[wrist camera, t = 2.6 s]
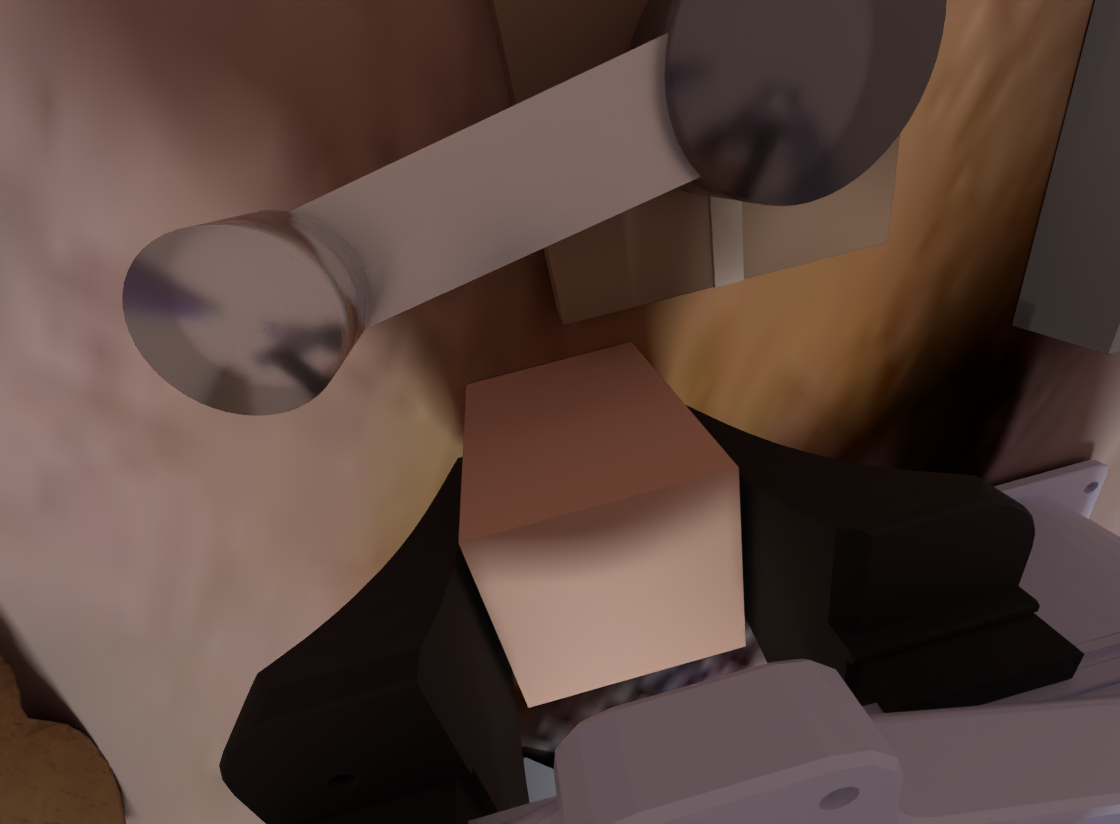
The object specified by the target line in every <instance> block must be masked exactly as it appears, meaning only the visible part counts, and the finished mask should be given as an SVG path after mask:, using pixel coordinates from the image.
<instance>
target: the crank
mask: <svg viewBox="0 0 1120 824" xmlns="http://www.w3.org/2000/svg"><path fill="white" fill-rule="evenodd" d="M945 15H946V0H649V1H648V3H647V5H646V6H645V8H644V10H643V12H642V14H641V16H640V19H639V21H638V23H637V25H636V28H635V31H634V34H633V37H632V40H631V43H630V47H629V51H628V52H626V53H624V54H622V55H620V56H618V57H616V58H614V59H611V60H609V61H607V62H605V63H603V64H601V65H599V66H597V67H595V68H592V69H590V70H588V71H586V72H584V73H582V74H580V75H578V76H575V77H573V78H571V79H569V80H567V81H565V82H563V83H561V84H558V85H556V86H554V87H552V88H550V89H548V90H546V91H544V92H542V93H539V94H537V95H535V96H533V97H531V98H529V99H527V100H525V101H522V102H520V103H518V104H516V105H514V106H512V107H510V108H508V109H505V110H503V111H501V112H499V113H497V114H495V115H493V116H491V117H488V118H486V119H484V120H482V121H480V122H478V123H476V124H474V125H472V126H469V127H467V128H465V129H463V130H461V131H459V132H457V133H455V134H452V135H450V136H448V137H446V138H444V139H442V140H440V141H438V142H435V143H433V144H431V145H429V146H427V147H425V148H423V149H421V150H419V151H416V152H414V153H412V154H410V155H408V156H406V157H404V158H402V159H399V160H397V161H395V162H393V163H391V164H389V165H387V166H385V167H382V168H380V169H378V170H376V171H374V172H372V173H370V174H368V175H366V176H363V177H361V178H359V179H357V180H355V181H353V182H351V183H349V184H346V185H344V186H342V187H340V188H338V189H336V190H334V191H332V192H329V193H327V194H325V195H323V196H321V197H319V198H317V199H315V200H312V201H310V202H308V203H306V204H304V205H302V206H300V207H298V208H296V209H293V210H291V211H289V212H288V211H280V210H266V211H258V212H253V213H249V214H244V215H240V216H236V217H231V218H227V219H222V220H218V221H214V222H209V223H205V224H200V225H196V226H192V227H187V228H183V229H178V230H175V231H172V232H170V233H167V234H164V235H162V236H161V237H159V238H157V239H156V240H154V241H152V242H151V243H150V244H148V245H147V246H146V247H145V248H144V249H143V250H142V251H141V252H140V253H139V254H138V255H137V257H136V258H135V259H134V261H133V263H132V264H131V266H130V268H129V270H128V272H127V275H126V279H125V282H124V288H123V310H124V316H125V321H126V324H127V327H128V330H129V333H130V335H131V337H132V339H133V341H134V343H135V345H136V347H137V348H138V350H139V351H140V353H141V354H142V356H143V357H144V359H145V360H146V361H147V362H148V363H149V365H150V366H151V367H152V368H153V369H154V370H155V371H156V372H157V373H158V374H159V375H160V376H161V377H162V378H163V379H164V380H165V381H167V382H168V383H169V384H170V385H172V386H173V387H174V388H176V389H177V390H179V391H180V392H182V393H183V394H185V395H186V396H188V397H190V398H192V399H194V400H196V401H198V402H200V403H202V404H205V405H207V406H210V407H212V408H216V409H219V410H222V411H225V412H230V413H235V414H242V415H272V414H279V413H283V412H287V411H290V410H293V409H296V408H298V407H300V406H302V405H304V404H306V403H308V402H309V401H311V400H312V399H314V398H315V397H316V396H318V395H319V394H320V393H321V392H322V391H323V390H324V389H325V388H326V386H327V385H328V384H329V382H330V381H331V379H332V378H333V376H334V375H335V373H336V372H337V371H338V369H339V368H340V366H341V365H342V363H343V362H344V360H345V359H346V357H347V356H348V354H349V353H350V351H351V350H352V348H353V347H354V345H355V344H356V342H357V341H358V339H359V338H360V336H361V335H362V333H363V331H364V329H366V328H369V327H371V326H373V325H375V324H377V323H380V322H382V321H384V320H386V319H388V318H391V317H393V316H395V315H397V314H399V313H402V312H404V311H406V310H408V309H410V308H413V307H415V306H417V305H419V304H421V303H424V302H426V301H428V300H430V299H432V298H435V297H437V296H439V295H441V294H443V293H446V292H448V291H450V290H452V289H454V288H457V287H459V286H461V285H463V284H466V283H468V282H470V281H472V280H474V279H477V278H479V277H481V276H483V275H485V274H488V273H490V272H492V271H494V270H496V269H499V268H501V267H503V266H505V265H507V264H510V263H512V262H514V261H516V260H518V259H521V258H523V257H525V256H527V255H529V254H532V253H534V252H536V251H538V250H540V249H543V248H545V247H547V246H549V245H551V244H554V243H556V242H558V241H560V240H562V239H565V238H567V237H569V236H571V235H573V234H576V233H578V232H580V231H582V230H584V229H587V228H589V227H591V226H593V225H595V224H598V223H600V222H602V221H604V220H606V219H609V218H611V217H613V216H615V215H617V214H620V213H622V212H624V211H626V210H628V209H631V208H633V207H635V206H637V205H640V204H642V203H644V202H646V201H648V200H651V199H653V198H655V197H657V196H659V195H662V194H664V193H666V192H668V191H670V190H673V189H675V188H678V189H681V190H683V191H685V192H688V193H692V194H697V195H702V196H709V197H715V198H722V199H729V200H735V201H742V202H749V203H755V204H762V205H771V206H791V205H799V204H804V203H808V202H812V201H815V200H818V199H820V198H823V197H826V196H828V195H830V194H832V193H834V192H836V191H838V190H840V189H842V188H843V187H845V186H846V185H848V184H849V183H851V182H852V181H854V180H855V179H857V178H858V177H859V176H860V175H862V174H863V173H864V172H865V171H866V170H868V169H869V168H870V167H871V166H872V165H873V164H874V163H875V162H876V161H877V160H878V159H879V158H880V157H881V156H882V155H883V154H884V153H885V152H886V151H887V149H888V148H889V147H890V146H891V145H892V143H893V142H894V141H895V140H896V138H897V137H898V136H899V134H900V133H901V131H902V130H903V128H904V127H905V125H906V124H907V122H908V121H909V119H910V118H911V116H912V114H913V112H914V110H915V109H916V107H917V105H918V103H919V101H920V99H921V97H922V95H923V93H924V91H925V88H926V86H927V84H928V82H929V79H930V76H931V73H932V70H933V68H934V65H935V62H936V59H937V55H938V51H939V47H940V43H941V39H942V34H943V27H944V21H945Z"/></svg>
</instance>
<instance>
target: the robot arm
mask: <svg viewBox="0 0 1120 824" xmlns="http://www.w3.org/2000/svg"><path fill="white" fill-rule="evenodd" d="M686 406H687V405H686ZM687 408H688V409H689V410H690V411H691V412H692V413H693V415H694V416H695V417H696V418H697V419H698V420H699V422H700V423H701V424H702V425H703V426H704V427H705V429H706V430H707V431H708V432H709V433H710V434H711V436H712V437H713V438H714V439H715V440H716V441H717V443H718V444H719V445H720V446H721V447H722V448H723V450H724V451H725V452H726V453H727V454H728V455H729V457H730V458H731V459H732V460H733V461H734V463H735V464H736V465H737V466H738V467H739V489H740V515H741V541H742V567H743V593H744V615H745V617H746V619H747V621H748V623H749V625H750V628H751V630H752V632H753V634H754V636H755V638H756V640H757V642H758V644H759V646H760V648H761V650H762V652H763V654H764V656H765V659H766V661H767V663H766V664H763V665H759V666H756V667H752V668H749V669H745V670H742V671H738V672H735V673H731V674H728V675H724V676H721V677H717V678H714V679H710V680H707V681H703V682H700V683H696V684H693V685H689V686H686V687H682V688H679V689H675V690H672V691H668V692H665V693H661V694H658V695H654V696H651V697H647V698H644V699H640V700H637V701H633V702H630V703H626V704H623V705H619V706H616V707H612V708H610V709H608V710H606V711H603V712H601V713H599V714H597V715H595V716H593V717H590V718H588V719H586V720H584V721H582V722H580V723H579V724H578V725H577V726H576V727H575V728H574V729H573V730H572V731H571V732H570V734H569V735H568V736H567V737H566V738H565V739H564V740H563V741H562V742H561V743H560V745H559V746H558V747H557V748H556V750H555V760H554V779H555V787H556V796H552V797H549V798H546V799H542V800H539V801H535V802H532V803H530V802H529V795H528V789H527V782H526V775H525V768H524V761H523V753H522V746H521V739H520V731H519V724H518V716H517V708H516V700H515V692H514V684H513V675H512V668H511V665H510V663H509V660H508V658H507V656H506V653H505V651H504V649H503V646H502V644H501V642H500V639H499V637H498V635H497V632H496V630H495V628H494V625H493V623H492V621H491V618H490V616H489V614H488V611H487V609H486V606H485V604H484V602H483V599H482V597H481V595H480V592H479V590H478V588H477V585H476V583H475V581H474V578H473V576H472V574H471V571H470V569H469V567H468V564H467V562H466V559H465V557H464V555H463V552H462V550H461V548H460V545H459V524H460V503H461V483H462V463H463V457H461V458H458V459H457V461H456V462H455V464H454V466H453V467H452V469H451V471H450V473H449V474H448V476H447V478H446V480H445V481H444V483H443V485H442V487H441V488H440V490H439V492H438V493H437V495H436V497H435V498H434V500H433V502H432V503H431V505H430V507H429V508H428V510H427V511H426V513H425V514H424V516H423V517H422V519H421V520H420V522H419V523H418V524H417V526H416V527H415V529H414V530H413V532H412V533H411V534H410V536H409V537H408V538H407V540H406V541H405V542H404V543H403V545H402V546H401V547H400V549H399V550H398V551H397V552H396V553H395V554H394V556H393V557H392V558H391V559H390V560H389V561H388V563H387V564H386V565H385V566H384V567H383V568H382V569H381V570H380V571H379V572H378V573H377V574H376V575H375V576H374V577H373V578H372V579H371V580H370V581H369V582H368V583H367V584H366V585H365V586H364V587H363V588H362V589H361V590H360V591H359V592H358V593H357V594H356V595H355V596H354V597H353V598H352V599H351V600H350V601H349V602H348V603H347V604H346V605H345V606H343V607H342V608H341V609H340V610H339V611H338V612H337V613H336V614H334V615H333V616H332V617H331V618H330V619H329V620H327V621H326V622H325V623H324V624H323V625H321V626H320V627H319V628H318V629H317V630H315V631H314V632H313V633H312V634H310V635H309V636H308V637H307V638H305V639H304V640H303V641H301V642H300V643H299V644H297V645H296V646H295V647H293V648H292V649H290V650H289V651H288V652H286V653H285V654H284V655H282V656H281V657H280V658H278V659H277V660H276V661H274V662H273V663H272V664H270V665H269V666H267V667H266V668H265V669H263V670H262V671H260V672H259V673H258V674H257V676H256V678H255V680H254V682H253V684H252V686H251V689H250V691H249V693H248V695H247V698H246V700H245V702H244V705H243V707H242V709H241V712H240V714H239V716H238V719H237V721H236V723H235V726H234V728H233V730H232V733H231V735H230V737H229V740H228V742H227V744H226V747H225V749H224V751H223V755H222V758H221V761H220V765H219V766H220V771H221V775H222V779H223V781H224V782H225V784H226V785H227V787H228V788H229V789H230V790H231V792H232V793H233V794H234V795H235V796H236V797H237V798H238V799H239V800H240V801H241V802H242V803H244V804H245V805H246V806H247V807H248V808H249V809H250V810H251V811H252V812H254V813H255V814H256V815H257V816H258V817H259V818H260V819H261V820H263V821H264V822H265V823H266V824H1120V537H1119V536H1117V535H1115V534H1114V533H1112V532H1110V531H1109V530H1107V529H1105V528H1103V527H1102V526H1100V525H1098V524H1097V523H1095V522H1093V521H1091V520H1090V519H1088V518H1089V516H1090V514H1091V511H1092V509H1093V507H1094V504H1095V502H1096V500H1097V497H1098V495H1099V492H1100V490H1101V488H1102V485H1103V483H1104V481H1105V478H1106V476H1107V474H1108V467H1107V465H1105V464H1103V463H1101V462H1098V461H1096V460H1087V461H1084V462H1080V463H1076V464H1073V465H1069V466H1066V467H1062V468H1058V469H1055V470H1051V471H1048V472H1044V473H1040V474H1037V475H1033V476H1030V477H1026V478H1022V479H1019V480H1015V481H1011V482H1008V483H1004V484H1001V485H997V486H992V485H990V484H989V483H987V482H986V481H984V480H983V479H981V478H979V477H978V476H976V475H965V474H950V473H936V472H921V471H910V470H901V469H893V468H886V467H878V466H871V465H865V464H859V463H853V462H848V461H843V460H838V459H833V458H828V457H824V456H819V455H815V454H811V453H807V452H804V451H800V450H797V449H793V448H790V447H786V446H783V445H780V444H777V443H774V442H771V441H768V440H765V439H762V438H760V437H757V436H754V435H752V434H749V433H746V432H744V431H742V430H739V429H737V428H734V427H732V426H730V425H727V424H725V423H723V422H721V421H718V420H716V419H714V418H712V417H710V416H708V415H706V414H704V413H701V412H699V411H697V410H695V409H693V408H691V407H689V406H687Z"/></svg>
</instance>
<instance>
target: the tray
mask: <svg viewBox="0 0 1120 824" xmlns="http://www.w3.org/2000/svg"><path fill="white" fill-rule="evenodd" d="M1012 325H1013V326H1016V327H1019V328H1023V329H1026V330H1029V331H1032V332H1036V333H1039V334H1042V335H1045V336H1049V337H1052V338H1055V339H1059V340H1062V341H1065V342H1068V343H1072V344H1075V345H1078V346H1081V347H1085V348H1088V349H1091V350H1094V351H1098V352H1101V353H1104V354H1108V355H1109V354H1112V353H1116V352H1120V0H1095V3H1094V7H1093V11H1092V15H1091V19H1090V22H1089V26H1088V30H1087V34H1086V38H1085V42H1084V46H1083V50H1082V54H1081V58H1080V61H1079V65H1078V69H1077V73H1076V77H1075V81H1074V85H1073V89H1072V93H1071V97H1070V101H1069V104H1068V108H1067V112H1066V116H1065V120H1064V124H1063V128H1062V132H1061V136H1060V140H1059V144H1058V147H1057V151H1056V155H1055V159H1054V163H1053V167H1052V171H1051V175H1050V179H1049V183H1048V187H1047V190H1046V194H1045V198H1044V202H1043V206H1042V210H1041V214H1040V218H1039V222H1038V226H1037V230H1036V233H1035V237H1034V241H1033V245H1032V249H1031V253H1030V257H1029V261H1028V265H1027V269H1026V273H1025V276H1024V280H1023V284H1022V288H1021V292H1020V296H1019V300H1018V304H1017V308H1016V312H1015V315H1014V319H1013V323H1012Z"/></svg>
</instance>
